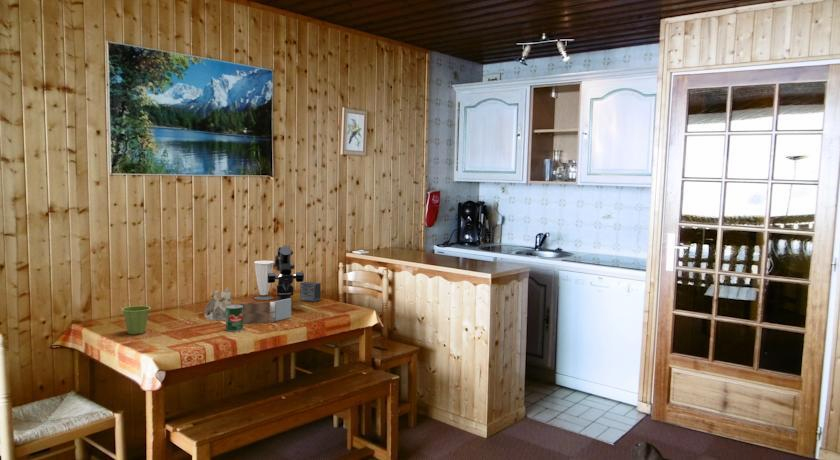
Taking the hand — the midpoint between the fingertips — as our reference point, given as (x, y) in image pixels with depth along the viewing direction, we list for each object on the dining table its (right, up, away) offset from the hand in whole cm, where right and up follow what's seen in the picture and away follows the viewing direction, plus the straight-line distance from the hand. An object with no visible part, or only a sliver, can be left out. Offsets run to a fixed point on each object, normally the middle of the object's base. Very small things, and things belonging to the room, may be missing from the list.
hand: (286, 290), depth 313 cm
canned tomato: (-17, -15, -32) cm, 40 cm away
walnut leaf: (-10, -14, -20) cm, 26 cm away
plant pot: (-59, -15, -41) cm, 73 cm away
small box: (+6, -10, +36) cm, 37 cm away
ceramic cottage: (-33, -13, -9) cm, 36 cm away
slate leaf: (0, -13, -13) cm, 19 cm away
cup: (-22, -9, +40) cm, 47 cm away
